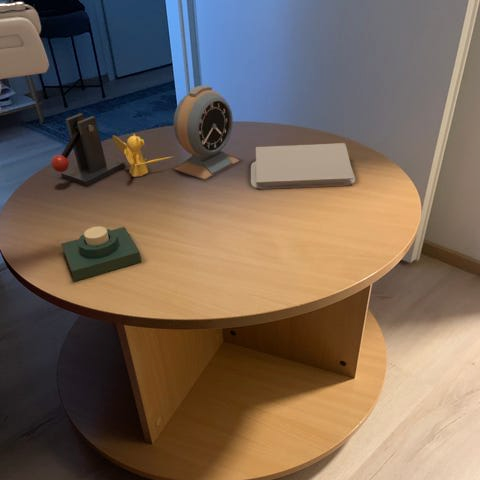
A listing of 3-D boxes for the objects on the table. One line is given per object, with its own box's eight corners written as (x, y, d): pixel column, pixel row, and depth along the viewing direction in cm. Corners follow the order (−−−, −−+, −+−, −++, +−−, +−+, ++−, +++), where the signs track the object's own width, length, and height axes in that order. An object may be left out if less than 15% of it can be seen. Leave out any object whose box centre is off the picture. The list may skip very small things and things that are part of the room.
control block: (75, 281, 87) (68, 262, 84) (64, 253, 94) (58, 234, 91) (141, 261, 90) (137, 242, 88) (126, 236, 97) (122, 218, 95)
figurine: (181, 173, 118) (176, 136, 112) (131, 185, 114) (123, 147, 108) (165, 155, 126) (159, 120, 120) (118, 166, 123) (110, 130, 117)
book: (251, 160, 121) (250, 144, 119) (347, 156, 120) (348, 140, 117) (250, 189, 110) (250, 172, 107) (357, 185, 108) (359, 168, 106)
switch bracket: (87, 186, 115) (72, 130, 107) (62, 177, 119) (45, 123, 111) (125, 167, 122) (113, 112, 114) (100, 159, 126) (87, 106, 118)
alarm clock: (201, 181, 114) (192, 100, 102) (171, 171, 119) (160, 92, 107) (242, 159, 122) (238, 81, 110) (213, 150, 127) (206, 75, 115)
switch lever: (66, 176, 113) (55, 167, 110) (56, 173, 115) (45, 163, 111) (95, 127, 114) (85, 116, 111) (85, 124, 116) (74, 114, 113)
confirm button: (89, 249, 88) (86, 240, 87) (84, 238, 91) (81, 230, 89) (111, 242, 89) (109, 234, 88) (106, 232, 92) (103, 224, 91)
